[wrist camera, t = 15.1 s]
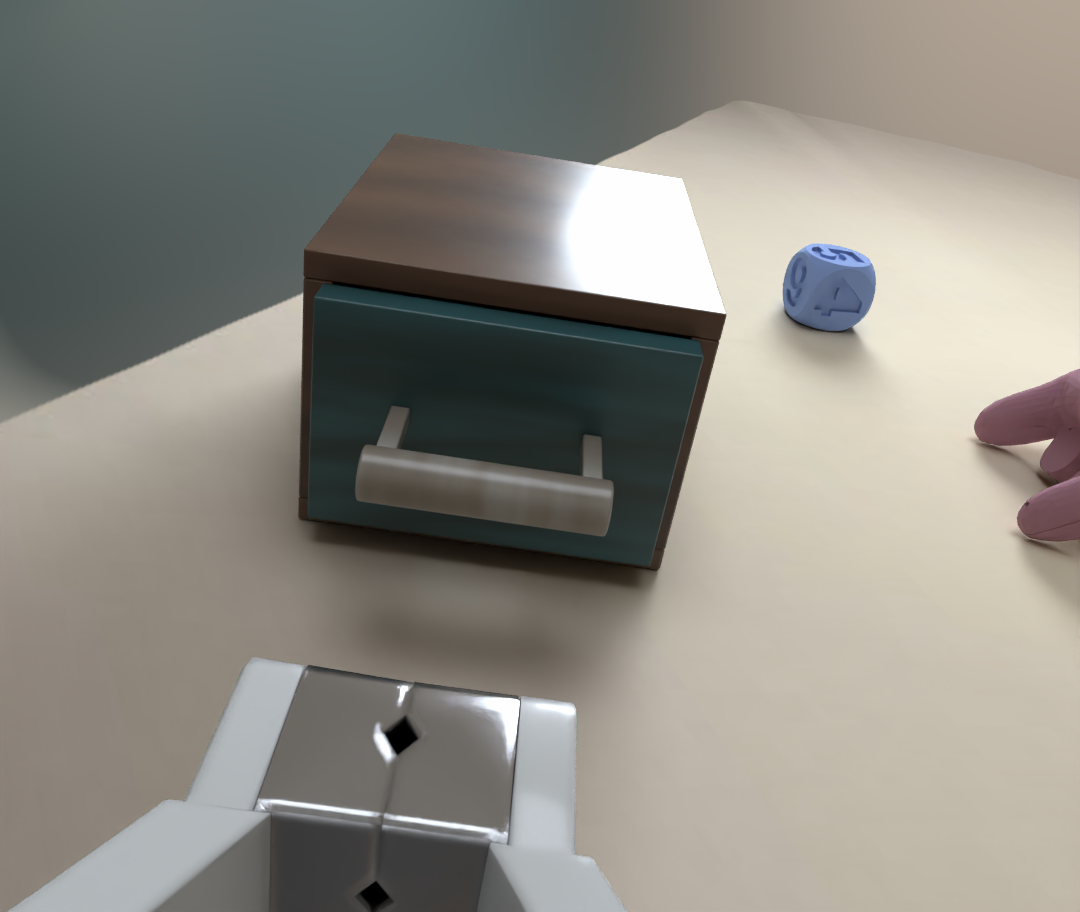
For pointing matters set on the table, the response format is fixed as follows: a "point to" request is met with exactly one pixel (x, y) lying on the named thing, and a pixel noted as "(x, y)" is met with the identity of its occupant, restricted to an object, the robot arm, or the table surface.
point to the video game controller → (1072, 457)
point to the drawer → (494, 423)
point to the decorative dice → (828, 287)
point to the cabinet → (521, 255)
